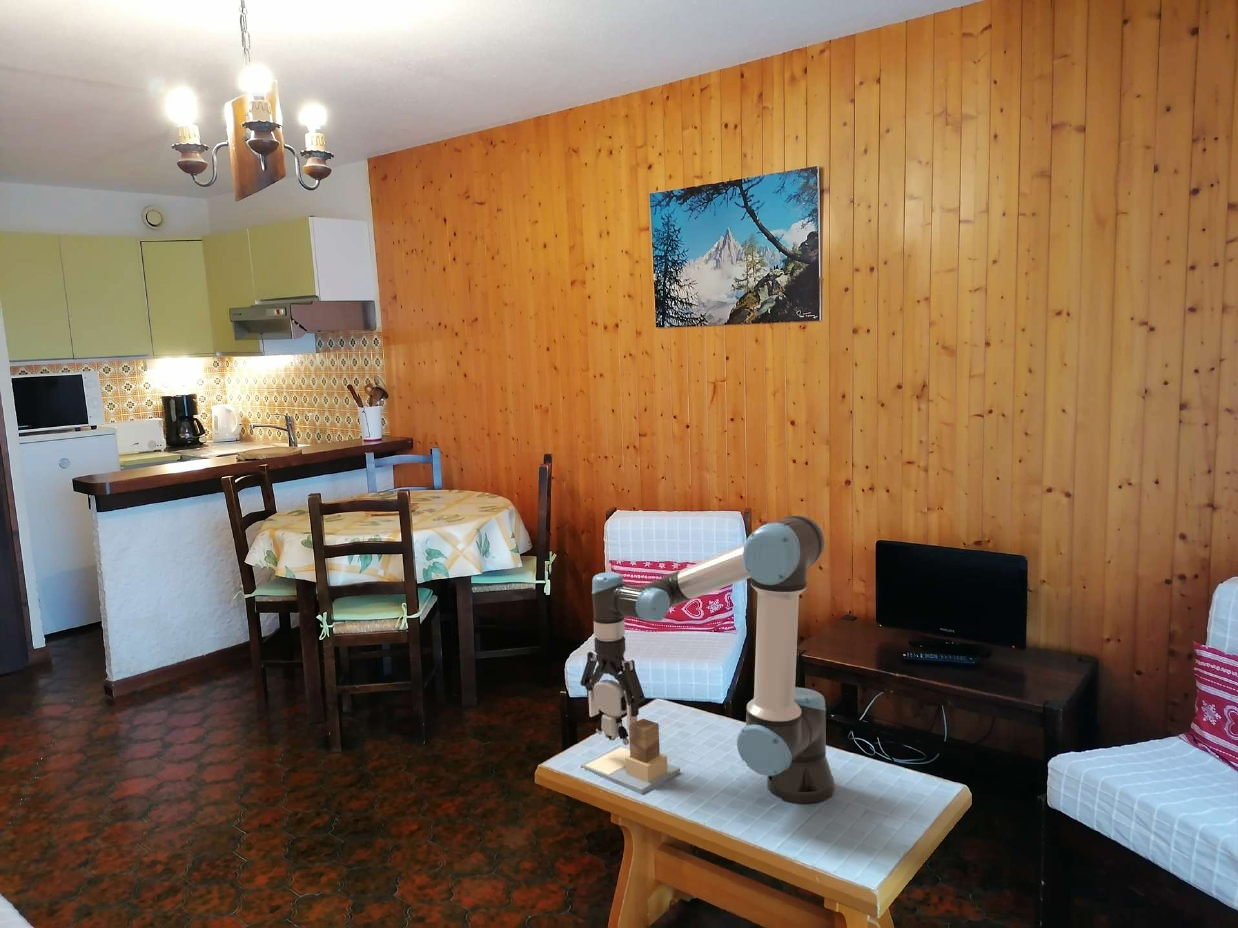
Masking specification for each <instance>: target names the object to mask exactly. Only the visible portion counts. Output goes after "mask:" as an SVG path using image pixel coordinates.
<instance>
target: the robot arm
mask: <svg viewBox="0 0 1238 928" xmlns="http://www.w3.org/2000/svg"><path fill="white" fill-rule="evenodd" d="M825 544H826V543H825V535H824V532H823V530H822V529H821V527H820V526H819V525H818V523H817V522H815V521H814V520H813V519H812V518H809V517H808V516H805V515H797V514H796V515H791V516H786V517H784V518H782V519H780V520H777V521H774V522H769V523H766V524H763V525H762V526H760V527H758V528H757V529H756V530H754V531H752V533H751V534H749V536H748V537H747V539H746V540H745V542H744V544H742V545H739V546H737V547H734V548H732V549H730V550H727V551H725V552H722V553H720V554H719V553H718V554H717V555H715V556H713V557H710V558H707V559H705V560H703V561H699V562H698V563H694V564H693V565H690V566H687V567H685V568H683V569H680V570H678V571H676V572H675V571H674V572H671V573H670V574H669V573H668V574H666V576H662V577H660V578H658V579H655V580H653V581H651V582H647V583H645V584H643V585H633V584H632V585H631V584H627V583H625V581H624V577H623V575H622V574H621V573H618V572H614V571H609V572H608V571H607V572H600V573H598V574H596V575H593V577H592V584H591V585H592V586H591V587H592V589H591V590H592V591H591V595H592V597H591V598H592V608H593V609H592V610H593V636H594V650H592V651H589V652H587V655H586V656H587V657H586V660H587V661H586V664H585V667H584V670H583V672H582V676H581V680H580V685H581V687H585V690H586V695H587V697H586V698H587V699H586V700H587V702H588V708H589V709H588V711H589V713H588V714H589V715H588V716H589V717H590V718H592V717H595V716H596V715H599V714H600V709H598V708H597V706H596V705H595V703H594V699H593V688H592V685H593V687H594V685H595V684H596V683H597V682H599V681H601V679H602V678H603V676H604V674H605V675H610V676H612V677H613V678H614V679H615V680H617V683H619V684H620V686H621V688H622V690H623V692H624V690H625V691H626V697H627V699H628V701H629V703H627V712H626V719H627V720H626V721H627V723H626V724H627V731H629V725H630V724H632V723H634V722H636V721H638V716H639V714H640V713H639V710H640V709H639V704H640V703H641V702H644V701H645V700H646V696H645V694H644V691H643V687H642V685H641V682H640V679H639V677H638V674H637V670H636V664H635V661H634V660H633V659H631V660H625V656H624V655H625V652H626V648H627V647H626V637H625V635H626V631H625V630H626V629H625V627H626V626H625V625H626V624H625V617H628V618H633V619H638V620H643V621H646V622H660V621H662V620H664V619H665V618H666V615H668V613H669V612H670V611H669V610H670V608H673V607H675V606H678V605H680V604H683V603H685V602H688V601H690V600H693V599H695V598H698V597H702V596H704V595H706V594H709V593H711V592H714V591H718V590H720V589H723V588H725V587H728V586H731V585H734V584H736V583H738V582H739V583H740V582H741V581H745V580H747V579H750V586H751V587H752V588H753V589H754V590H755V591H756V593H757V601H756V602H757V603H756V604H757V605H756V610H757V611H756V627H755V628H756V632H755V633H756V634H755V636H756V637H755V661H754V662H755V663H754V665H755V666H754V686H753V687H754V690H753V691H754V692H753V698H752V699H751V700H750V701H748V703H747V704H746V713H745V714H746V715H745V716H746V718H745V720H746V721H745V726H744V727H742V728H741V729H740V731H739V733H738V735H737V737H736V748H737V752H738V753H739V756H740V758H741V760H742V761H743V762H745V764H746V766H747V767H748V768H749V769H750V770H752V771H753V772H755V773H757V774H759V775H762V776H766V777H767V778H766V779H767V780H766V782H767V784H766V785H767V789H768V791H769V792H770V793H771V794H772V795H773V796H776V797H777V798H779V799H781V800H783V801H785V802H790V803H794V804H795V803H796V804H814V803H818V802H823V801H826V800H828V799H830V797H832V796H833V794H834V792H835V779H834V776H833V773H832V771H831V767H830V765H829V762H828V759H827V753H826V752H827V749H826V748H827V744H826V743H827V741H826V738H827V737H826V736H827V734H826V731H827V730H826V729H827V728H826V727H827V726H826V725H827V723H826V719H827V718H826V711H827V708H826V700H825V696H824V695H823V694H821V693H820V692H818V691H816V690H813V689H810V688H807V687H806V688H805V687H798V686H796V677H797V676H796V674H797V673H796V670H797V648H798V626H799V624H798V623H799V604H800V603H799V601H800V599H799V598H800V595H801V594H802V593H803V592H804V591H805V590H806V589H807V587H808V586H807V585H808V568H809V567H811V566H814V564H815V563H817V562H818V560H820V558H821V557H822V555H823V552H824V550H825ZM597 663H598V665H597ZM590 679H591V682H590Z"/></svg>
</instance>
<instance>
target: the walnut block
mask: <svg viewBox="0 0 1238 928" xmlns="http://www.w3.org/2000/svg"><path fill="white" fill-rule="evenodd" d="M628 735H629V736H628V737H629V738H628V740H629V749H630V757H631V758H633V759H636V760H639V761H641V762H644V763H647V762H649V761H651V760H653V759H655V758H657V757H658V756H660V754H661V753H660V751H661V750H660V749H661V748H660V728H659V723H658V722H655V721H652V720H649V719H645V718H641V719H639V720H637V721H636V722H634V723H632V724H630V725H629V730H628Z"/></svg>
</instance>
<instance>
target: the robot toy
mask: <svg viewBox="0 0 1238 928" xmlns="http://www.w3.org/2000/svg"><path fill="white" fill-rule="evenodd" d="M590 682H591V679H590ZM592 688H593V699H594V703H595V705H596V706H597V708H598V709H599V711H601V713H600V717H601V718H600V719H599V720H598V721H597V723H596V725H595V728H596V729H595V732H596V733H597V734H598V735H602V733H603V734H604V737H605V738H606V739H608V740H609V741H615V740H616V738H619V739H620V740H622V744H623V745H624V746H627V745H630V740H629V738H628V737H629V731H628V729H627V728H626V727H625V726H623V719H622V715H625V714H627V703H629V701H628V699H627V697H626V691H625V690H624V692H623V690H622V688H621V686H620V684H619V682H618V681H615V680H613V679H603V680H600V681H599V682H597V683H596V684H595V685H594V687H593V685H592Z"/></svg>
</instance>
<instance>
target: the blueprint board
mask: <svg viewBox="0 0 1238 928" xmlns="http://www.w3.org/2000/svg"><path fill="white" fill-rule="evenodd" d="M581 768H584V769H585V770H588V771H590V772H592V773H594V774H593V775H595V774H596V775H595V776H597V775H598V776H597V777H599V776H600V778H602V777H603V778H602V779H604V778H605V780H606V779H607V780H606V781H609V782H611V783H614V784H616V785H619V786H621V787H623V788H626V789H628V790H630V791H631V792H632V791H633V792H635V793H637V794H639V795H643V794H645V793H646V792H648V791H651V790H652V789H654V788H656V787H658V786H659V785H661V784H662V783H664V782H666V781H668V780H669V779H670V780H671V778H673V777H675V776H677V775H679V774H681V768H680V766H676V765H674V764H671V763H668V755H666V754H663V753H660V756H658V757H657V758H655V759H653V760H651V761H649V762H647V763H644V762H641V761H639V760H636V759H633V758H631V757H630V748H627V747H624V746H621V745H618V746H617V747H614V748H613V749H611V750H610V749H609V750H608V751H606V752H604V753H602V754H600V755H598V756H596V757H594V758H592V759H590V760H587V761H586V762H584V763H581V764H580V769H581ZM585 770H584V771H585ZM590 772H589V773H590ZM592 773H591V774H592Z"/></svg>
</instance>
